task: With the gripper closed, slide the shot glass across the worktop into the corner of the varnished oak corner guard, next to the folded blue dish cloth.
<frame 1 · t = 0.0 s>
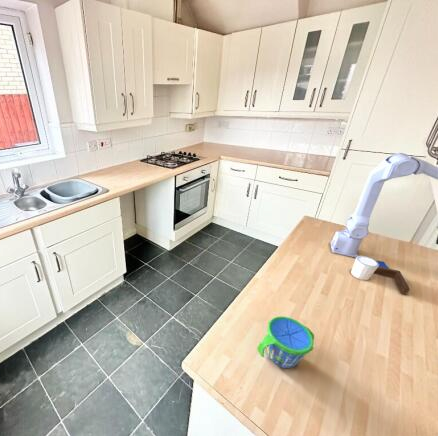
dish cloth: (374, 266, 101), on the counter
snack cup: (280, 356, 68), on the counter
corner guard: (384, 280, 93), on the counter
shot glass: (359, 275, 96), on the counter
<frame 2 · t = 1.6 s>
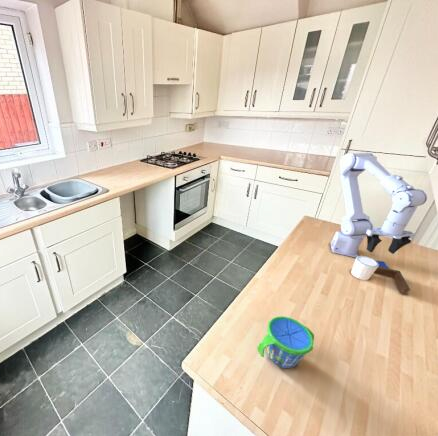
hand: (379, 251, 95), 9 cm above the counter, tool pointing down, fingers open, 7 cm apart
nothing on the counter moved.
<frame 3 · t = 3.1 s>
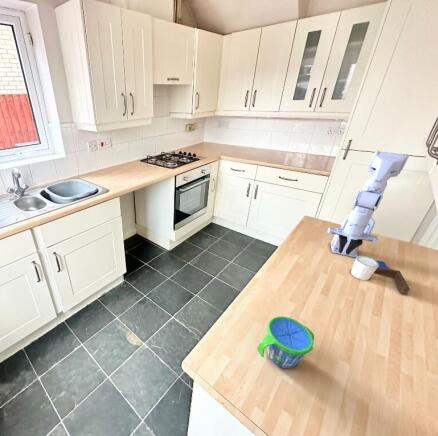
hand: (343, 252, 95), 8 cm above the counter, tool pointing down, fingers closed
nothing on the counter moved.
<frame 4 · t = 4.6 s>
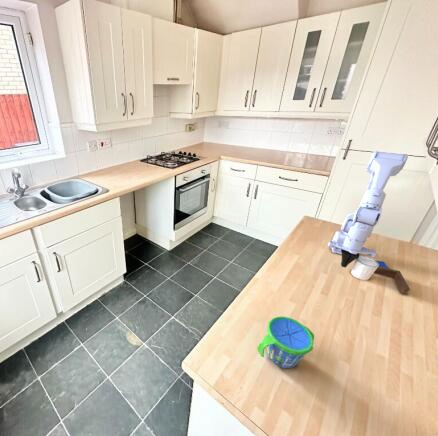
hand: (343, 265, 97), 3 cm above the counter, tool pointing down, fingers closed
nothing on the counter moved.
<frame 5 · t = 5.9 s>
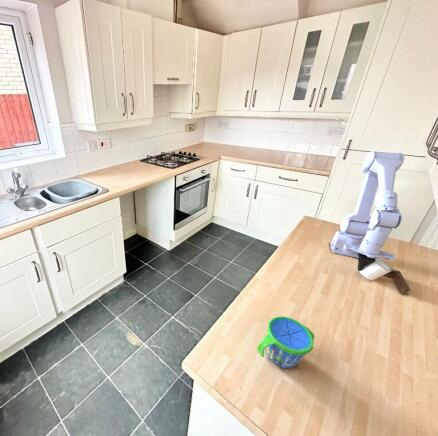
hand: (359, 269, 95), 3 cm above the counter, tool pointing down, fingers closed, pressing on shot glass
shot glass: (365, 274, 95), point 1 cm above the counter, touching gripper
everything else where it was.
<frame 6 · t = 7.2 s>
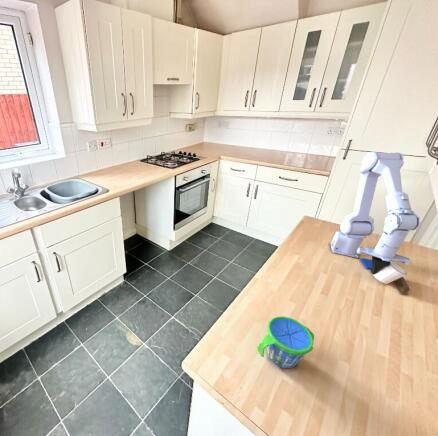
hand: (372, 272, 93), 3 cm above the counter, tool pointing down, fingers closed, pressing on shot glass
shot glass: (379, 277, 93), point 1 cm above the counter, touching gripper
everything else where it was.
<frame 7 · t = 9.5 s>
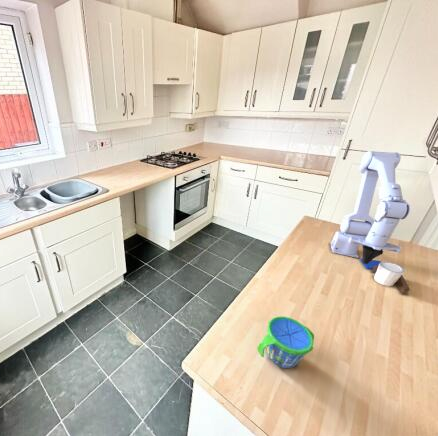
hand: (364, 262, 93), 6 cm above the counter, tool pointing down, fingers closed
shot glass: (383, 281, 93), on the counter
everything else where it was.
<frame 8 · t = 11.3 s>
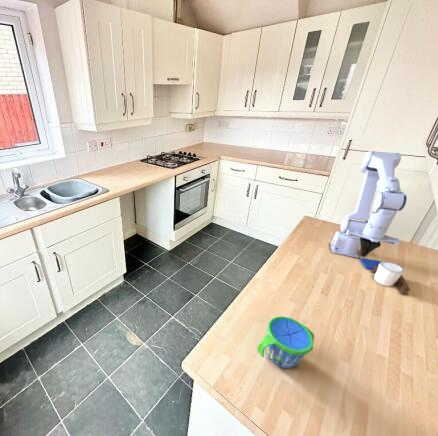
hand: (362, 255, 92), 9 cm above the counter, tool pointing down, fingers closed
nothing on the counter moved.
at the end: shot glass 0.5 cm from the target spot, on the counter; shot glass tilted 0° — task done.
